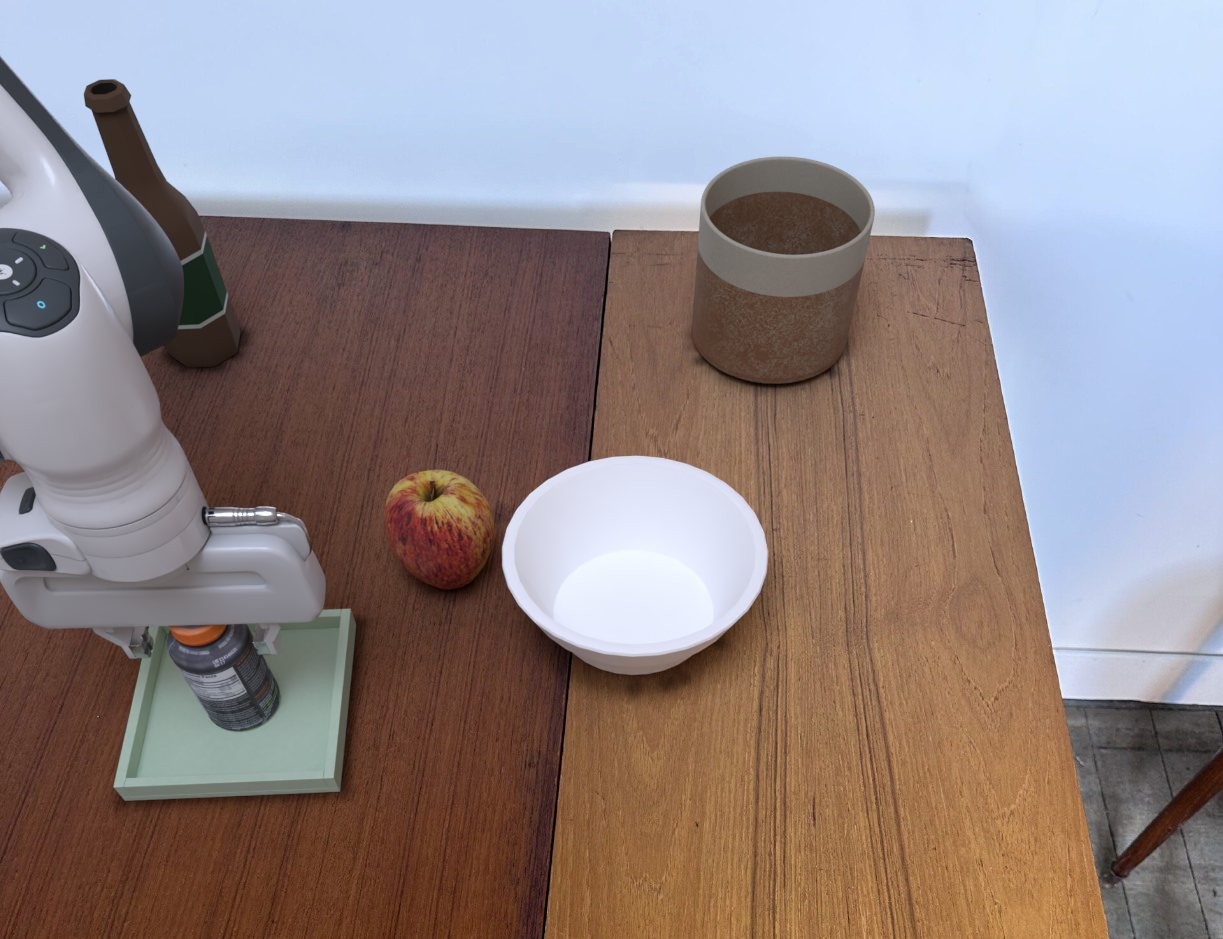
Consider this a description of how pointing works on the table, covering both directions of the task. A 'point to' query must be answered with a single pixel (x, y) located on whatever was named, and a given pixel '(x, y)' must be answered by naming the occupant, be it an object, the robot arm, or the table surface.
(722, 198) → the planter
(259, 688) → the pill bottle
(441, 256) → the table surface
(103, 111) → the beer bottle
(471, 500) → the apple
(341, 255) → the table surface
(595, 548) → the bowl
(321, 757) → the tray
